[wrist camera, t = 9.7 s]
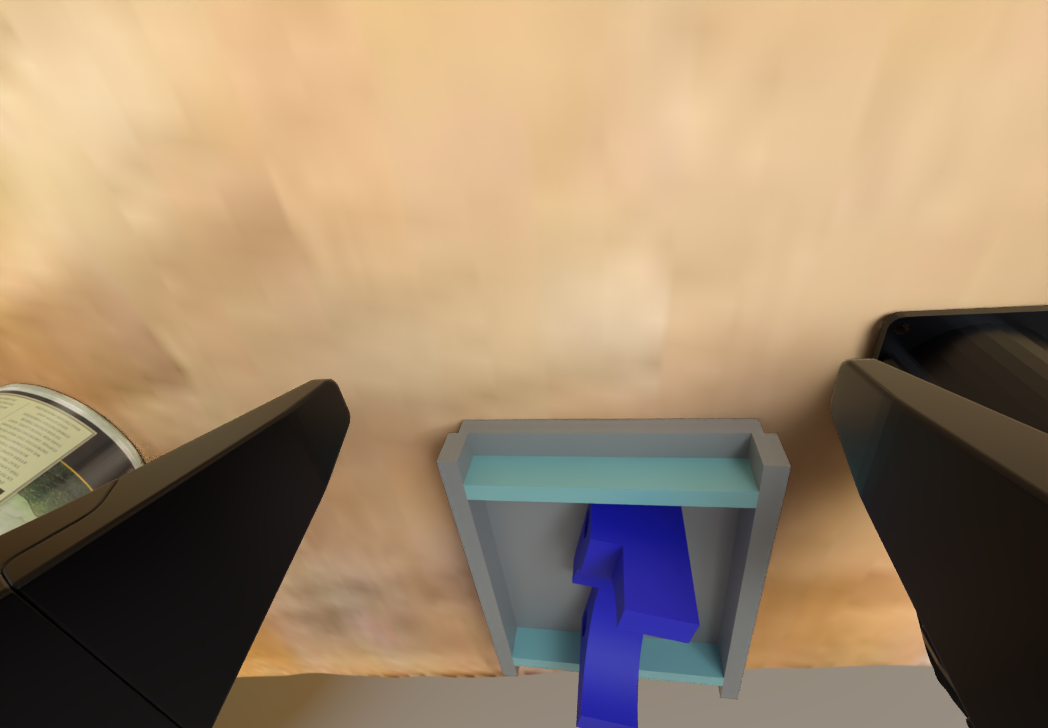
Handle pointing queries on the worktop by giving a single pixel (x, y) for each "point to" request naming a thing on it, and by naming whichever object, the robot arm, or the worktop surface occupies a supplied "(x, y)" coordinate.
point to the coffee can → (54, 452)
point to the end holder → (615, 478)
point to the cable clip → (628, 602)
